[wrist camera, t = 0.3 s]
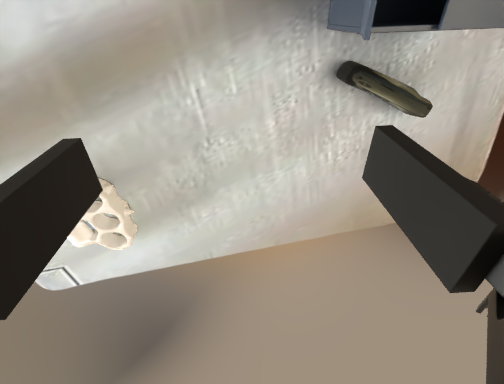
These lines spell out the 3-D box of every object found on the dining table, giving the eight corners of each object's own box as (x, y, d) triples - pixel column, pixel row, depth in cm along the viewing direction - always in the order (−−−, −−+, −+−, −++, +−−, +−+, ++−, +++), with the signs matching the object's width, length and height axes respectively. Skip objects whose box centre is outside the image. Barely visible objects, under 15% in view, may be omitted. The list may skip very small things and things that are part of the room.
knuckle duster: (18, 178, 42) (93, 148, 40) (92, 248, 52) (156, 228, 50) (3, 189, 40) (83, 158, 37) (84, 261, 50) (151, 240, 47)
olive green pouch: (343, 86, 32) (435, 127, 36) (356, 61, 31) (452, 106, 34) (331, 78, 36) (416, 115, 40) (343, 55, 35) (430, 97, 38)
